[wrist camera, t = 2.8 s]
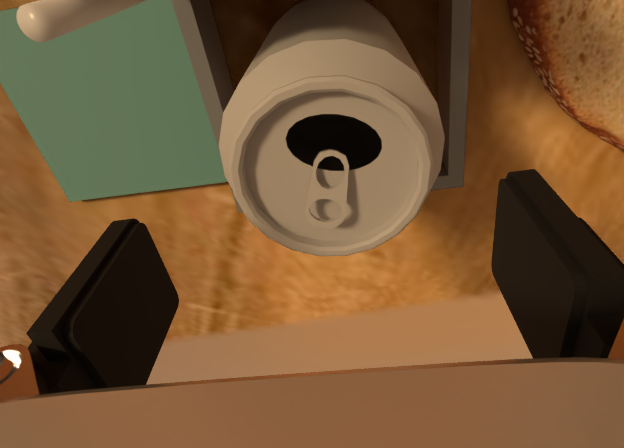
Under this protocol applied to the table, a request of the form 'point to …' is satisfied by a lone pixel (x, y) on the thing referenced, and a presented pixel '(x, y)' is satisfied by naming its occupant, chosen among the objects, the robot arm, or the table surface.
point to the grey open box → (216, 78)
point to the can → (331, 131)
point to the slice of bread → (578, 58)
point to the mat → (113, 103)
